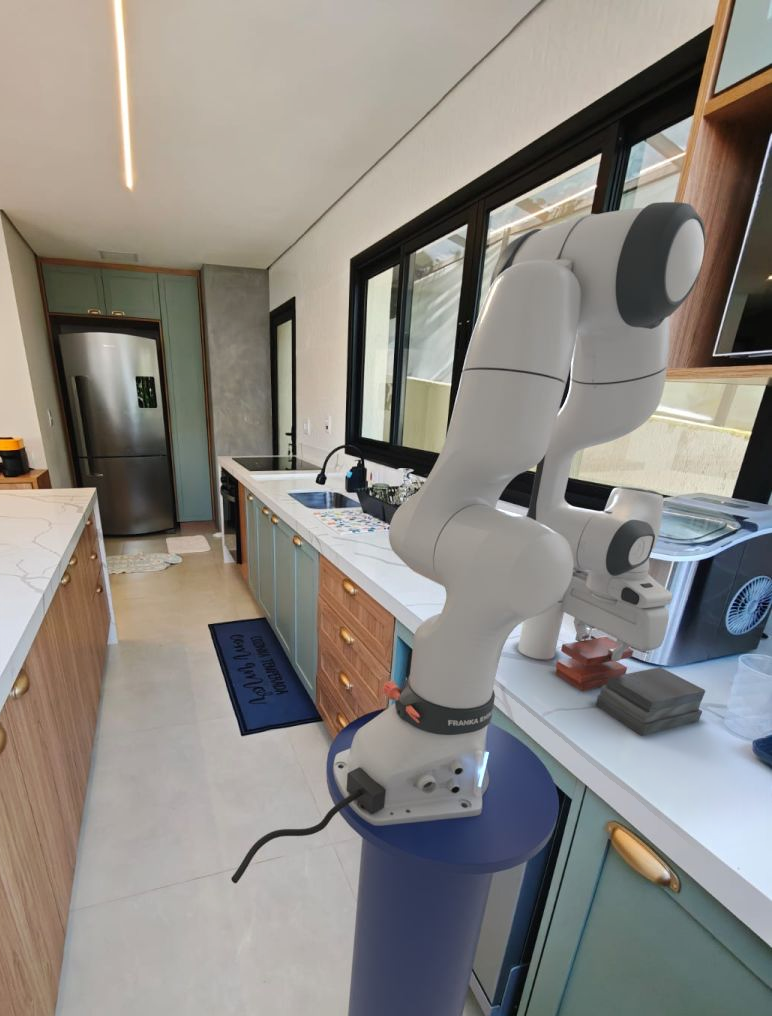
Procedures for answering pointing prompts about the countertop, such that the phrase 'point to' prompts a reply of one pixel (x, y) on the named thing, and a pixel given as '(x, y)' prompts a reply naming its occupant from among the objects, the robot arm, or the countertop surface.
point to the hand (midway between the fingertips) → (597, 650)
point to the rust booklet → (593, 650)
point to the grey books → (651, 700)
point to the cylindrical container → (542, 633)
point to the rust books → (588, 673)
